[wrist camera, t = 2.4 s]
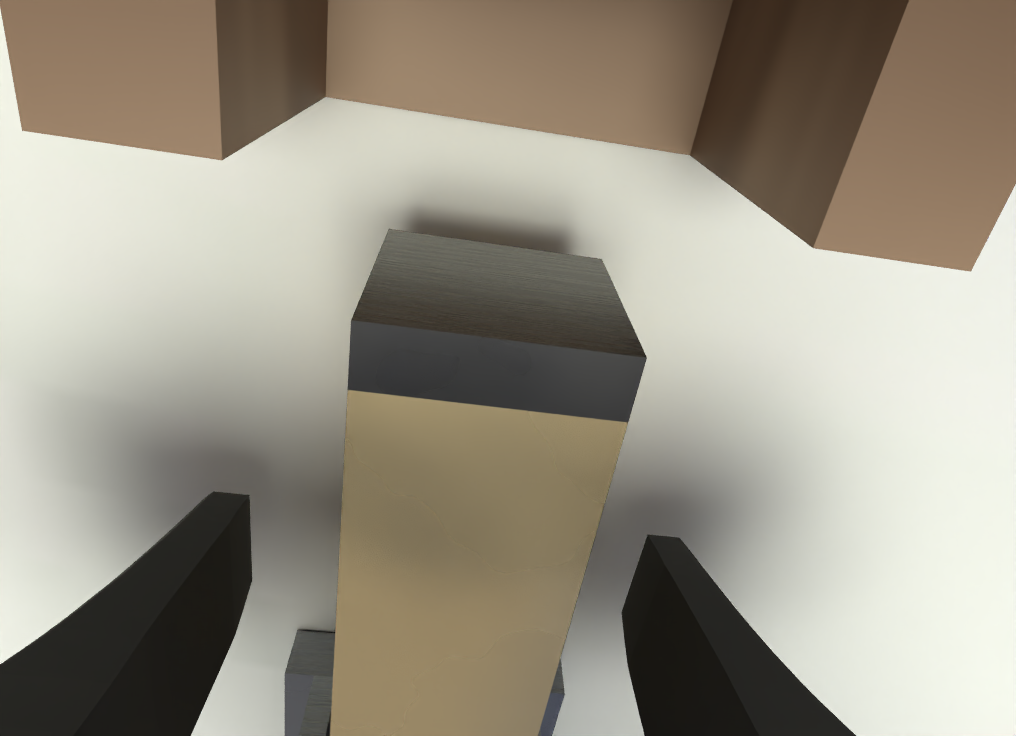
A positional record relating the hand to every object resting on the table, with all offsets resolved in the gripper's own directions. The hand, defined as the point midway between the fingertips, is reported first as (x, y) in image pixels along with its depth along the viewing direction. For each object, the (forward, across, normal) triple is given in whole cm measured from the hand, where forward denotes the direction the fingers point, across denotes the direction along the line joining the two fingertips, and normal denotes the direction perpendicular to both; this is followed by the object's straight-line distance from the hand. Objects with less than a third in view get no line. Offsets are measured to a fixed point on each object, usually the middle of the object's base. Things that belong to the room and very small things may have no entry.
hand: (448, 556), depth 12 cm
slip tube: (0, 0, +1) cm, 1 cm away
